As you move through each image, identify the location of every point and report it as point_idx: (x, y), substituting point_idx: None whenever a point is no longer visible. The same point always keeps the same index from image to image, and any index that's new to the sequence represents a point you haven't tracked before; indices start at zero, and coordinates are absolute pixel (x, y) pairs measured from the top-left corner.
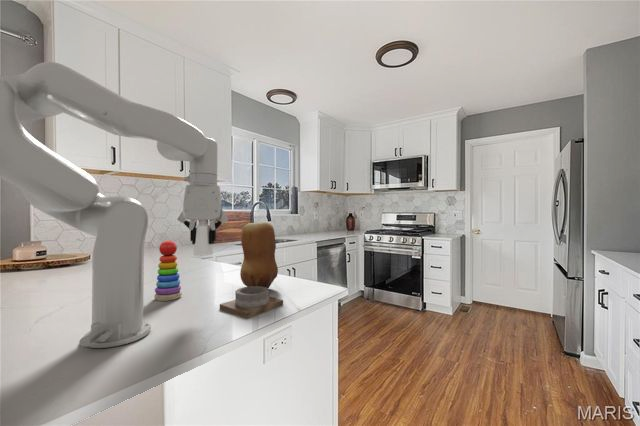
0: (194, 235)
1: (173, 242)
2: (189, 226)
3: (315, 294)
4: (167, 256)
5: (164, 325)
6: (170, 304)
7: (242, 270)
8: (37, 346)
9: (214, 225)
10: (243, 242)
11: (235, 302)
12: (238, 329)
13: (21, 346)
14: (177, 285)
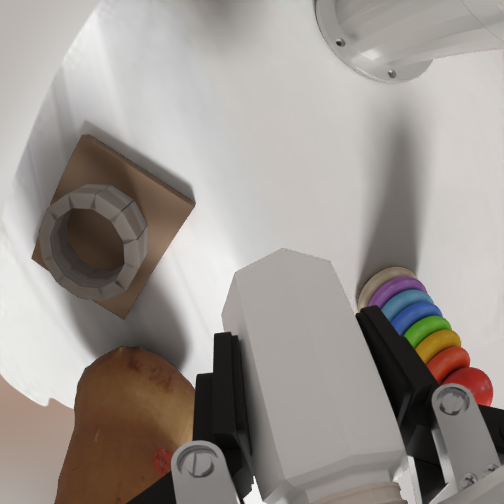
0: (389, 357)
1: None
2: (475, 409)
3: (9, 332)
4: (453, 365)
5: (307, 71)
6: (364, 244)
7: (175, 398)
8: None
9: (179, 492)
10: None
11: (146, 223)
12: (93, 60)
13: None
14: None
